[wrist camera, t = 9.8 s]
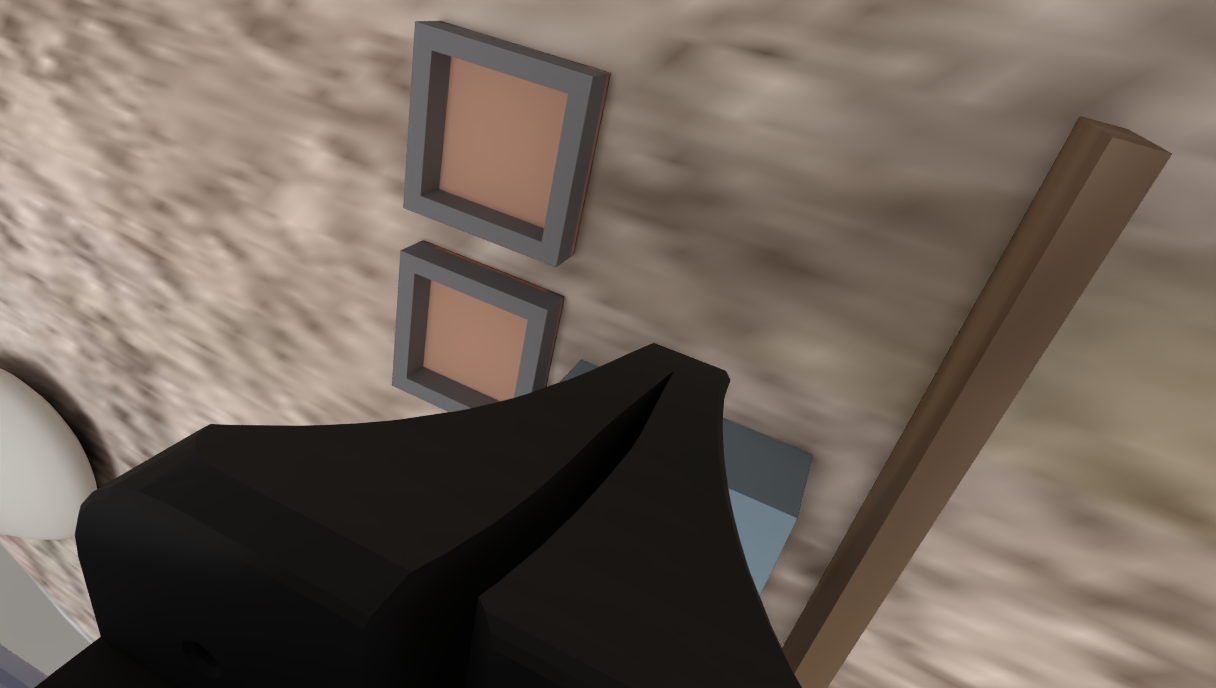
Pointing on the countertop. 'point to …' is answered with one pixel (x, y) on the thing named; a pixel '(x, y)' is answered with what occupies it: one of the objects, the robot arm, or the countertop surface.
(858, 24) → the countertop surface
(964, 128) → the countertop surface
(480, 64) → the grey double frame
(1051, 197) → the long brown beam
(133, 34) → the countertop surface
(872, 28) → the countertop surface
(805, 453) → the slate block
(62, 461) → the flower in vase
